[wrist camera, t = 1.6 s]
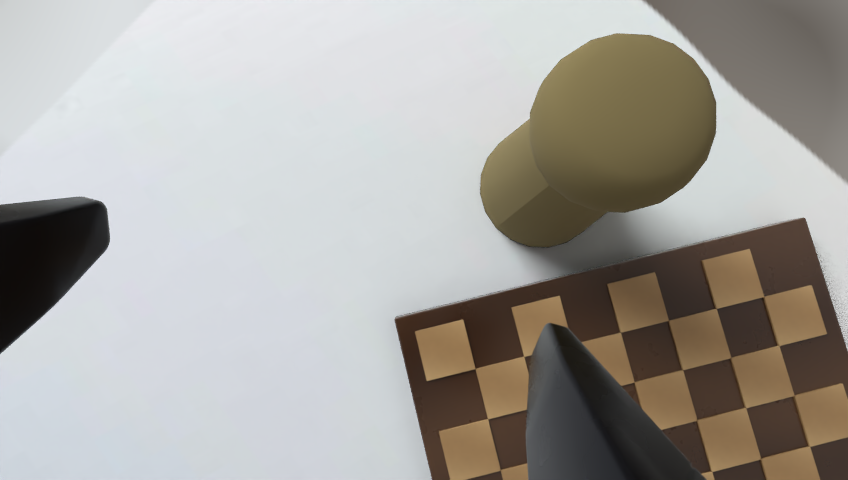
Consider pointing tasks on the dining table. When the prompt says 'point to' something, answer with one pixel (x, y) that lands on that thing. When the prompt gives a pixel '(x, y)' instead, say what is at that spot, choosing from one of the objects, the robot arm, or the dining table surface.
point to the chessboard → (652, 359)
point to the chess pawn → (601, 139)
